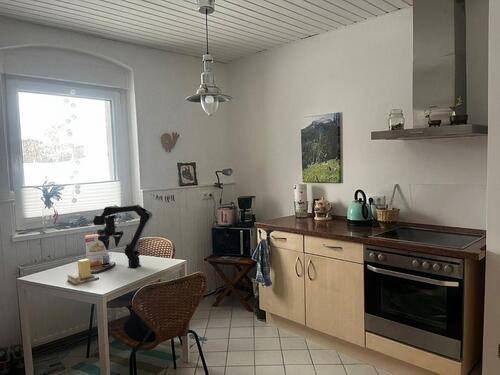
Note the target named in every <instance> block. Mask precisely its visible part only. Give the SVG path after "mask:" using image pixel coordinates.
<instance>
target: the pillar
mask: <svg viewBox="0 0 500 375" xmlns="http://www.w3.org/2000/svg"><path fill="white" fill-rule="evenodd" d="M77 270H78V271H77V272H78V276H79V277H80V278H81V279H83V278H87V277H90V276H91V266H90V260H89V259H87V258H83V259H78V260H77Z"/></svg>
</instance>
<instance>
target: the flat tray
mask: <svg viewBox="0 0 500 375" xmlns="http://www.w3.org/2000/svg"><path fill="white" fill-rule="evenodd" d="M97 280H100V277H99V276H96V275H94V274H93V273H92V274H91V276H90V277H87V278H83V279H81V278H80V277H79V275H75V274H73V273H70V274H67V280H66V282H68V283H70V284H72V285H74V286H78V285H81V284H85V283H90V282H94V281H97Z"/></svg>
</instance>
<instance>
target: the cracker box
mask: <svg viewBox="0 0 500 375" xmlns="http://www.w3.org/2000/svg"><path fill="white" fill-rule="evenodd" d="M99 236H100V235H98V233H97V234H86V235H85V236H84V239H85V256H86V257H85V259H89V260H90V267H93V266H102V265H101V264H102V257H103V256H108V257H109V249H108V250H106V248H105V246H104V244H103V242H101V241H100V240H98V237H99Z"/></svg>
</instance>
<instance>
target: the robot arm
mask: <svg viewBox="0 0 500 375" xmlns="http://www.w3.org/2000/svg"><path fill="white" fill-rule="evenodd" d="M128 212H135V214H136V215H138V217H140V218H139V224H138V226H137V228H136V231H135V233H134V235H133V237H132V239H131V242H129V243H127V244H126V246H125V248H124V254H125V256H126V257H127V259H128V260H127V261H128V266H127V268H129V269H138V268H140V267H141V266H142V264H141V263H140V256H141V252H140V251H138V250H137V249H138V244H139V242H140V240H141V238H142V235H143V233H144V231H145V229H146V226H147V225H148V224H149V222H150V221H151V220H152V218H153V213H152V211H148V210H147V209H146V208H144V207H142V206H141V205H139V204H134V205H125V206H118V205H117V206H116V205H110V206H109V205H108V206H105V207H104V208H103V211H102V213H101V215H99V214H98V215H97V214H96V215H94V218H93V221H92V222H93V225H94V226H95V227H96V226H97V227H98V226H104V227H103V229H98V230H97V234H98V235H100V236H99V237H98V240H100V241H101V242H103V244H104V246H105V248H106V250H108V251H109V247H110V242H111V240H110V238H111V237H112V238H113V239H114V245H115V246H114V247H115V248H116V247H118V246H119V244H120V241H121V239H122V237H123V236H124V231H123V230H116V228H117V226H116V222H115V221H116V219H117V218H119V217H118V215H116V214H120V213H128Z"/></svg>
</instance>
